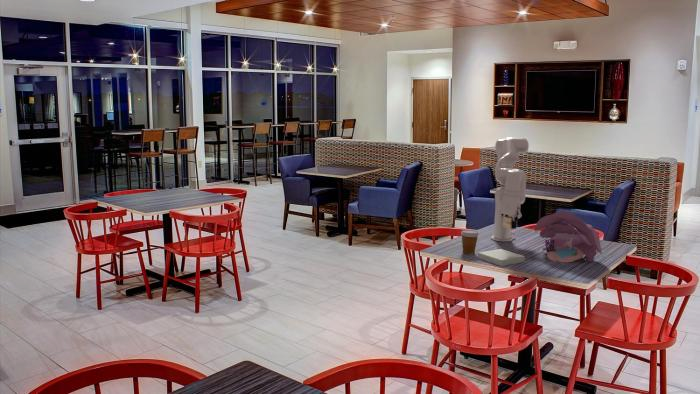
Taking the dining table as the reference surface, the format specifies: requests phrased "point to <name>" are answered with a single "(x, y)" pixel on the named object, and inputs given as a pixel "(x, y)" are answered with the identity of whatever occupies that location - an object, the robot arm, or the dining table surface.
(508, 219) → the maple block
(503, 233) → the robot arm
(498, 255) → the sage stand
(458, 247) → the dining table surface
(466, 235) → the disposable coffee cup
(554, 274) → the dining table surface
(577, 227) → the purple clam shell
